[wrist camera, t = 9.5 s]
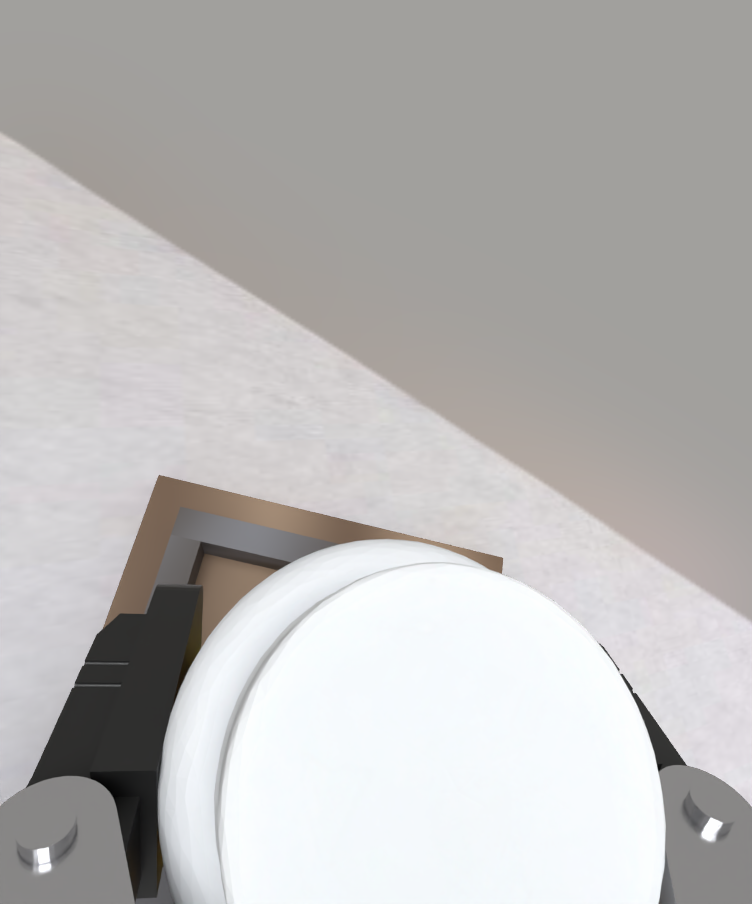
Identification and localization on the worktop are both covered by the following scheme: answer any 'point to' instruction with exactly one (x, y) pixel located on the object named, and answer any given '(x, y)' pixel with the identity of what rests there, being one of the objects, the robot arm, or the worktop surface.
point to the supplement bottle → (406, 745)
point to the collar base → (229, 554)
